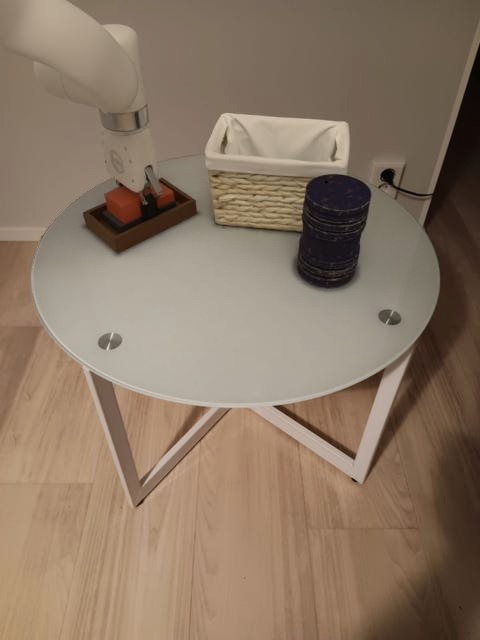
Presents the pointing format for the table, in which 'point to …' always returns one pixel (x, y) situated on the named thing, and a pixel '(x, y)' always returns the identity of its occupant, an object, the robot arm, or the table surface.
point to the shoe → (132, 206)
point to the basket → (270, 166)
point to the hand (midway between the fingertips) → (140, 210)
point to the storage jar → (332, 229)
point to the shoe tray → (144, 230)
